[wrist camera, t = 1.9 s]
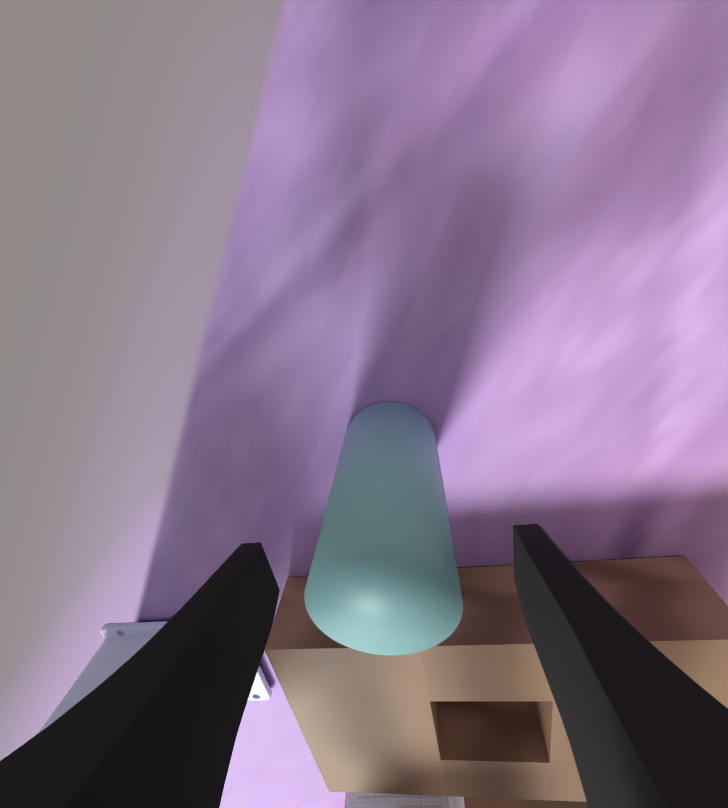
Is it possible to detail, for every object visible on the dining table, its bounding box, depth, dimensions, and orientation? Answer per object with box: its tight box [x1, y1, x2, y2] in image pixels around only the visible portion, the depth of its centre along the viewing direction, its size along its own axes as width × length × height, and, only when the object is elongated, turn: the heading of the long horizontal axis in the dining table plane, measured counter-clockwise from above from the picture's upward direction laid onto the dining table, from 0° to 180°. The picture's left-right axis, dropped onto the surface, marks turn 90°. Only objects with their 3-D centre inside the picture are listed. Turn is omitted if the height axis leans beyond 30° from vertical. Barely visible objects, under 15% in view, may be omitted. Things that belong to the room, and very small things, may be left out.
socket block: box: [265, 556, 728, 802], centre depth 20 cm, size 20×14×4 cm
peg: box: [304, 401, 463, 656], centre depth 13 cm, size 4×4×8 cm
